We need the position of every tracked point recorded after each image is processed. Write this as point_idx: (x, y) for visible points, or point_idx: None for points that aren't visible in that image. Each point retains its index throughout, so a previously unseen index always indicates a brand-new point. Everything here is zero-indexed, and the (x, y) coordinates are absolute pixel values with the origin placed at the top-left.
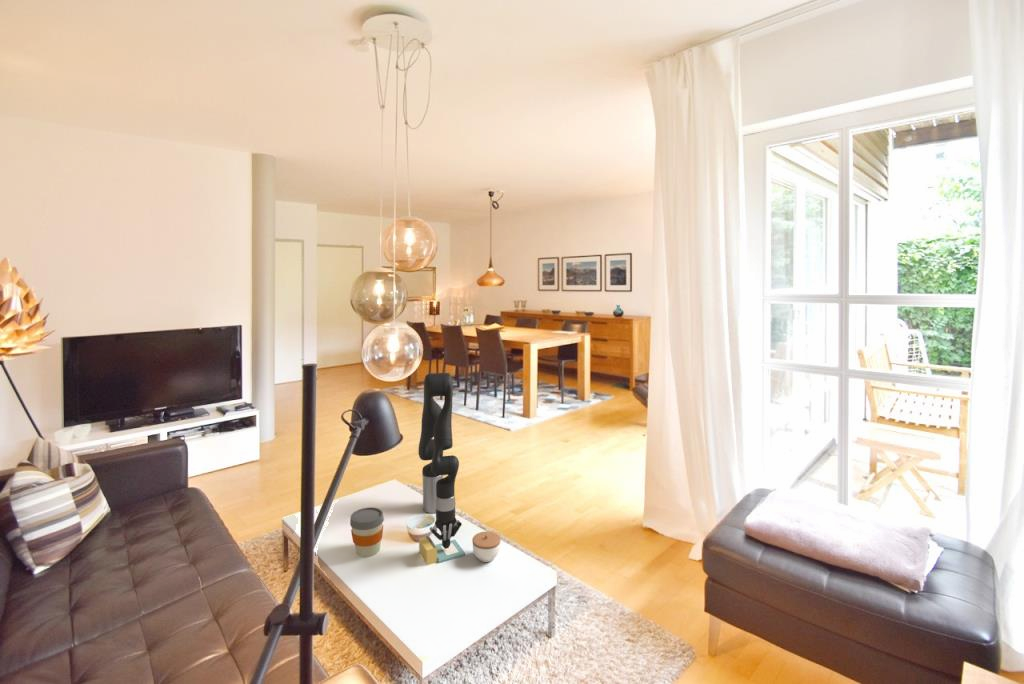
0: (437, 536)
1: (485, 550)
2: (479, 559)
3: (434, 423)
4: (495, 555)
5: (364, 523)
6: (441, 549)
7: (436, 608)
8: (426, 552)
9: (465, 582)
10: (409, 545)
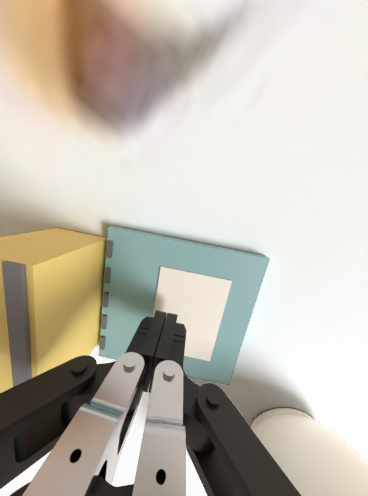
0: (18, 447)
1: None
2: (250, 427)
3: None
4: None
5: None
6: (152, 291)
7: (20, 480)
8: None
9: (133, 466)
10: (29, 119)
